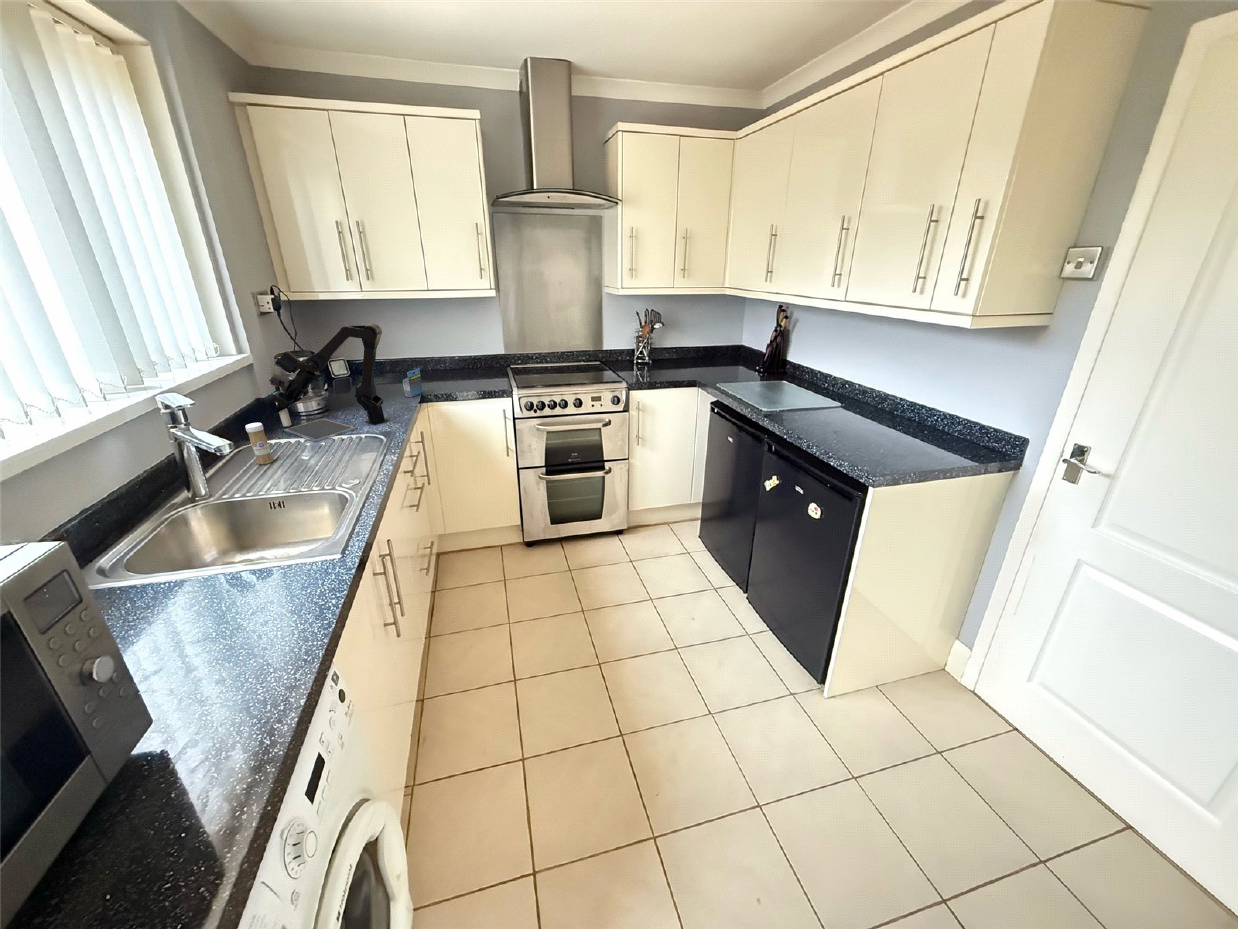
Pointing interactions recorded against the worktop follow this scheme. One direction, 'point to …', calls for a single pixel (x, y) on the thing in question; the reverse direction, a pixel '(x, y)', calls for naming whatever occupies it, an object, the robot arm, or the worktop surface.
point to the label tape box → (412, 384)
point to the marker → (285, 417)
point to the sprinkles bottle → (259, 443)
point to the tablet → (319, 429)
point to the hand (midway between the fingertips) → (279, 410)
